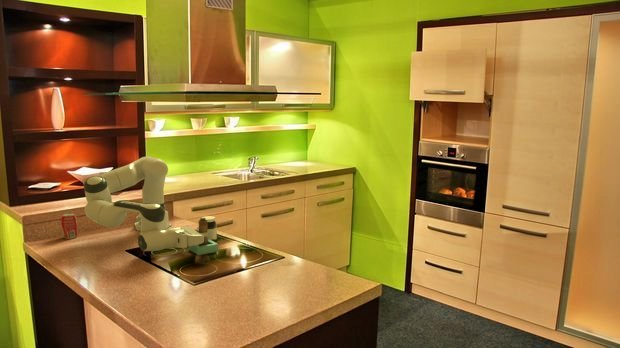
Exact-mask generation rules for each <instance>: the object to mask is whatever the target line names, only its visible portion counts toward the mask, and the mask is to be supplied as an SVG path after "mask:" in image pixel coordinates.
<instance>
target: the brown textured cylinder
mask: <svg viewBox="0 0 620 348" xmlns="http://www.w3.org/2000/svg"><path fill="white" fill-rule="evenodd" d="M198 227H199V233H203V232H207V233H208V227H207V220H206V218H202V217H200V218H199V220H198ZM203 245H208V236H206V237H204V242H203V243H202V244H199V246H203Z"/></svg>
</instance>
